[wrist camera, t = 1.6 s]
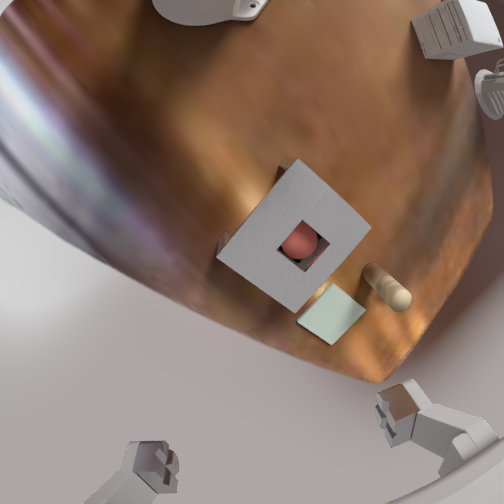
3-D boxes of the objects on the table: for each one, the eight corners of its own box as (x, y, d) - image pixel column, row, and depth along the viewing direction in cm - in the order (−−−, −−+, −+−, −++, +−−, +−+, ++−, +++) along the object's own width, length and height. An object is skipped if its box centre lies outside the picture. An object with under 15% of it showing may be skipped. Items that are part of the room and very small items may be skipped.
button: (293, 211, 38) (298, 216, 35) (318, 232, 39) (324, 238, 36) (271, 237, 38) (274, 244, 36) (296, 257, 40) (301, 265, 37)
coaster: (332, 281, 44) (333, 283, 43) (364, 308, 46) (365, 310, 45) (296, 319, 45) (297, 322, 45) (330, 343, 47) (331, 345, 47)
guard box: (285, 157, 37) (297, 158, 31) (349, 214, 41) (371, 227, 34) (218, 239, 40) (216, 257, 34) (285, 288, 43) (295, 313, 37)
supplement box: (441, 22, 31) (487, 3, 19) (454, 61, 33) (505, 48, 21) (409, 18, 31) (455, -8, 19) (423, 59, 33) (475, 42, 21)
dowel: (371, 258, 43) (403, 286, 33) (382, 269, 44) (415, 298, 34) (358, 273, 44) (387, 304, 34) (370, 284, 44) (399, 315, 35)
